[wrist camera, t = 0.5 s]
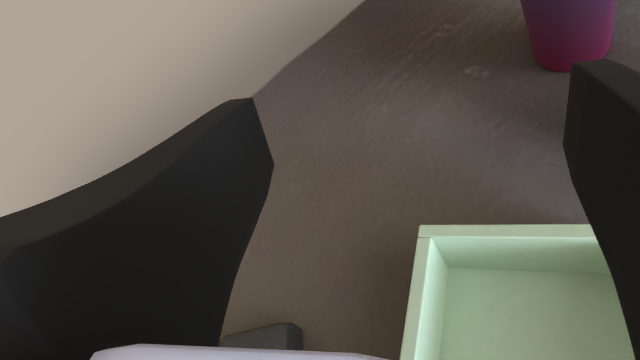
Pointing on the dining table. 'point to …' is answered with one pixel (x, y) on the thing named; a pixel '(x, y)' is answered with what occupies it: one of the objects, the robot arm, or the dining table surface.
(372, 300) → the dining table surface
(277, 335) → the usb drive
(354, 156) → the dining table surface
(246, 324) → the dining table surface
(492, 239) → the desk tray
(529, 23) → the cup
